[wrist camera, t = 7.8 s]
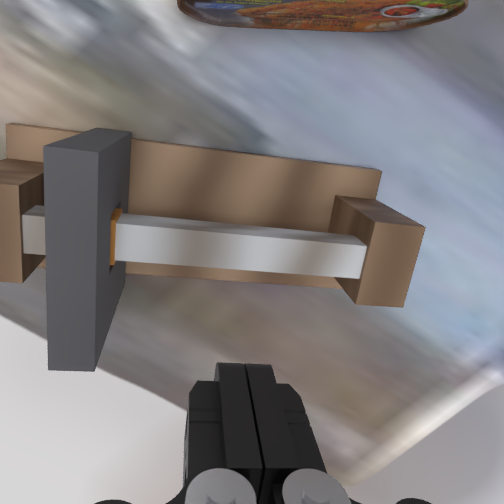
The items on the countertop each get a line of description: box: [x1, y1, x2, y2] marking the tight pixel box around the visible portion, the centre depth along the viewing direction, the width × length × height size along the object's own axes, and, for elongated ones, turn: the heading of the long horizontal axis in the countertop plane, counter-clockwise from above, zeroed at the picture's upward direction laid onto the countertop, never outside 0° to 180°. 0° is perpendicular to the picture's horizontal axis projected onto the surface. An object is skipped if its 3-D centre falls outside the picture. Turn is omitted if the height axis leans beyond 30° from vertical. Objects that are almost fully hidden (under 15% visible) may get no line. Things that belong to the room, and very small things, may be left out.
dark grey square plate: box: [43, 128, 131, 372], centre depth 22 cm, size 2×10×10 cm, turn 172°
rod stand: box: [0, 123, 426, 308], centre depth 26 cm, size 24×9×8 cm, turn 82°
